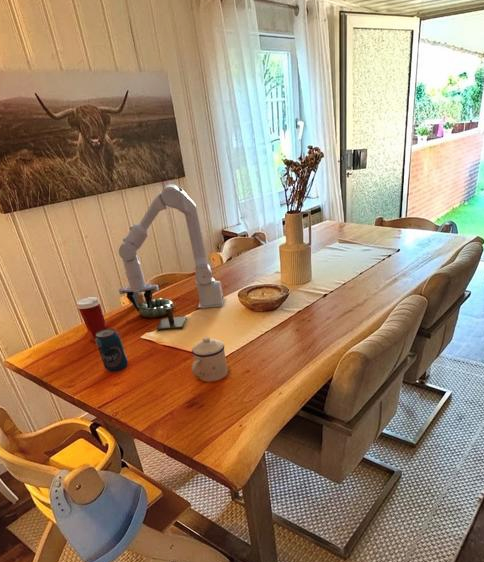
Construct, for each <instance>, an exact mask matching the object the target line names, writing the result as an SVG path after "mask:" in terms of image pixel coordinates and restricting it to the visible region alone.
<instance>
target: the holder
mask: <svg viewBox="0 0 484 562" xmlns="http://www.w3.org/2000/svg"><path fill="white" fill-rule="evenodd" d="M166 312H167V315H166V316H167V317H163V318H161V319H160V322H159V324H158V326H157V328H156V330H157V332H162V331H163V332H164V331H174V330H175V331H176V330H183V329H184V327H185V324H186V321H187V316H174V313H173V310H172V309H171V307H167V308H166Z"/></svg>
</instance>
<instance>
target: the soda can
mask: <svg viewBox="0 0 484 562" xmlns="http://www.w3.org/2000/svg"><path fill="white" fill-rule="evenodd" d="M95 341H96V342H95V344H96V347H97V351H98V352H99V355H100V358H101V361H102V364H103V367H104V369H105V370H107V371H108V372H109V373H119V372H122V371H124V370H125V369H126V368H127V367H128V364H129V360H128V357H127V354H126V352H125V348H124V344H123V342H122V339H121V336H120V333H119V332H118V331H116V329H115V328H112V327H109V328H107V329H103V330H100V331H98V332H97V333H96V339H95Z"/></svg>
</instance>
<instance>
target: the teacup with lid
mask: <svg viewBox="0 0 484 562" xmlns="http://www.w3.org/2000/svg"><path fill="white" fill-rule="evenodd" d="M191 353H192V354H193V359H194V361H193V362H192V363H191V366H190V368H191V373H192V374H193V375H194V376H195V377H198V378H199V380H201V381H203V382H207V383H208V382H210V383H211V382H217V381H220V380H223V379H224V378H225V377H227V375H228V372H229V370H228V369H229V368H228V365H227V363H228V362H227V359H226V353H225V344H224V342H222V341H221V340H220V339H215V338H210V337H209V336H204V337H203V338H202V340H200V341H198V342H196V343H195V344H193V346H192V348H191Z"/></svg>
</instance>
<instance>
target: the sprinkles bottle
mask: <svg viewBox="0 0 484 562" xmlns="http://www.w3.org/2000/svg"><path fill="white" fill-rule="evenodd" d="M125 277H127V275H126V271H125ZM128 286H130V285H129V284H128ZM136 293H137V299H138V302H139V305H141V304H143V303H144V302H146V299H145V297H144V295H143V294H144V292H136Z"/></svg>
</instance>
